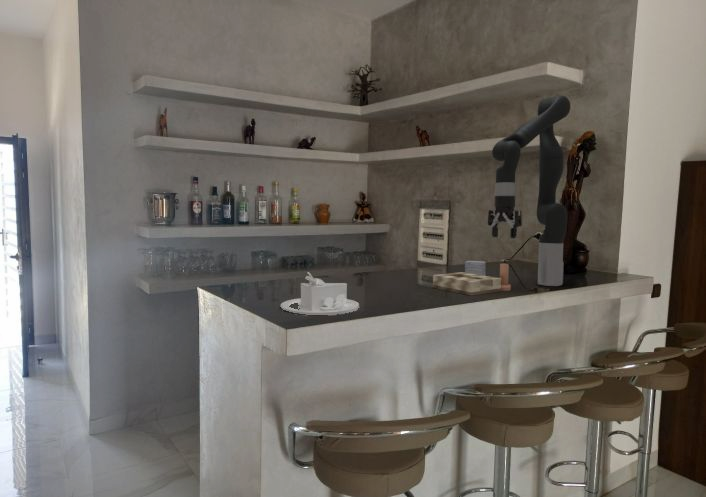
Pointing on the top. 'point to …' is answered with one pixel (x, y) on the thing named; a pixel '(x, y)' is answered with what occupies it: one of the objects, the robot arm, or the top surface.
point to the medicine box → (475, 267)
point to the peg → (504, 277)
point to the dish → (322, 299)
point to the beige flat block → (467, 283)
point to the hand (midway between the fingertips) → (503, 237)
